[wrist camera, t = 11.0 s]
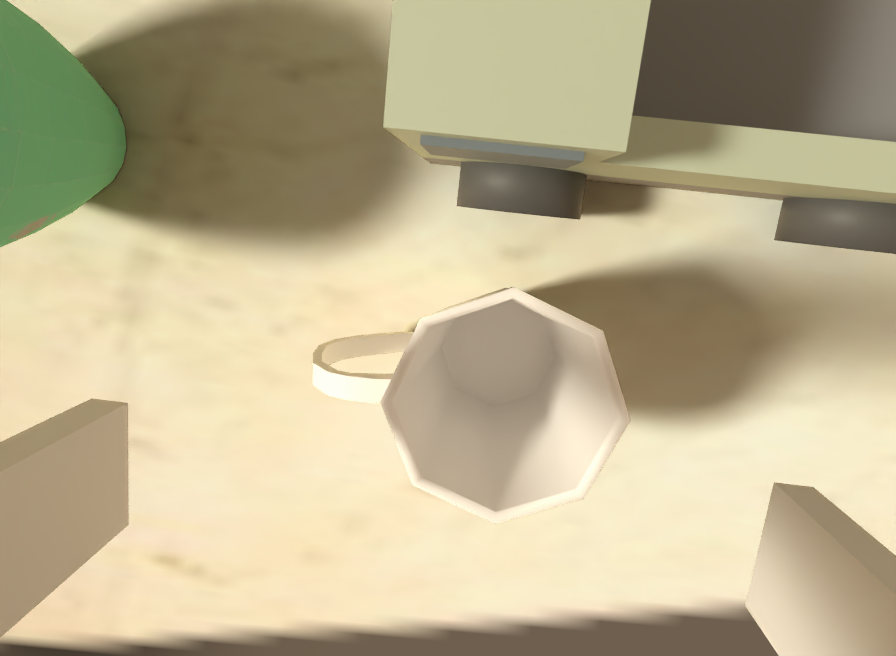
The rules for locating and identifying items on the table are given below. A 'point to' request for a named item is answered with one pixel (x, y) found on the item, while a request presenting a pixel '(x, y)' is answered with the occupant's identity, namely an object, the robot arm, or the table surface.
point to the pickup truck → (657, 104)
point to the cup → (492, 402)
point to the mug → (49, 129)
